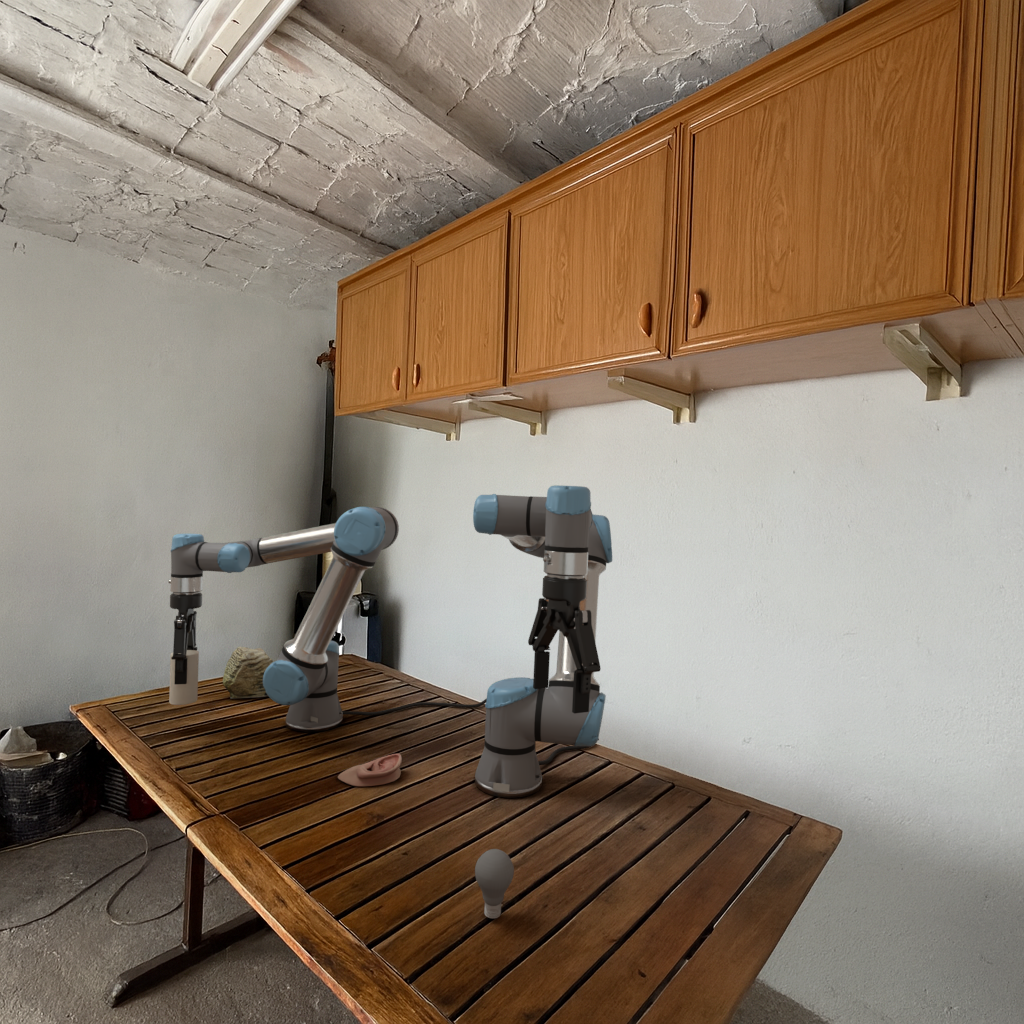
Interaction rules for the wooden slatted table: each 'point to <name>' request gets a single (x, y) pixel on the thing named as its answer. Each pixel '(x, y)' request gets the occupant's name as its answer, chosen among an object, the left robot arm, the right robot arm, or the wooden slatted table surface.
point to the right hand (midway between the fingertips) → (559, 699)
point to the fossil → (246, 673)
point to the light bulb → (494, 879)
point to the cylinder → (189, 691)
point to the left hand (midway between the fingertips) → (184, 679)
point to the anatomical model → (373, 772)
